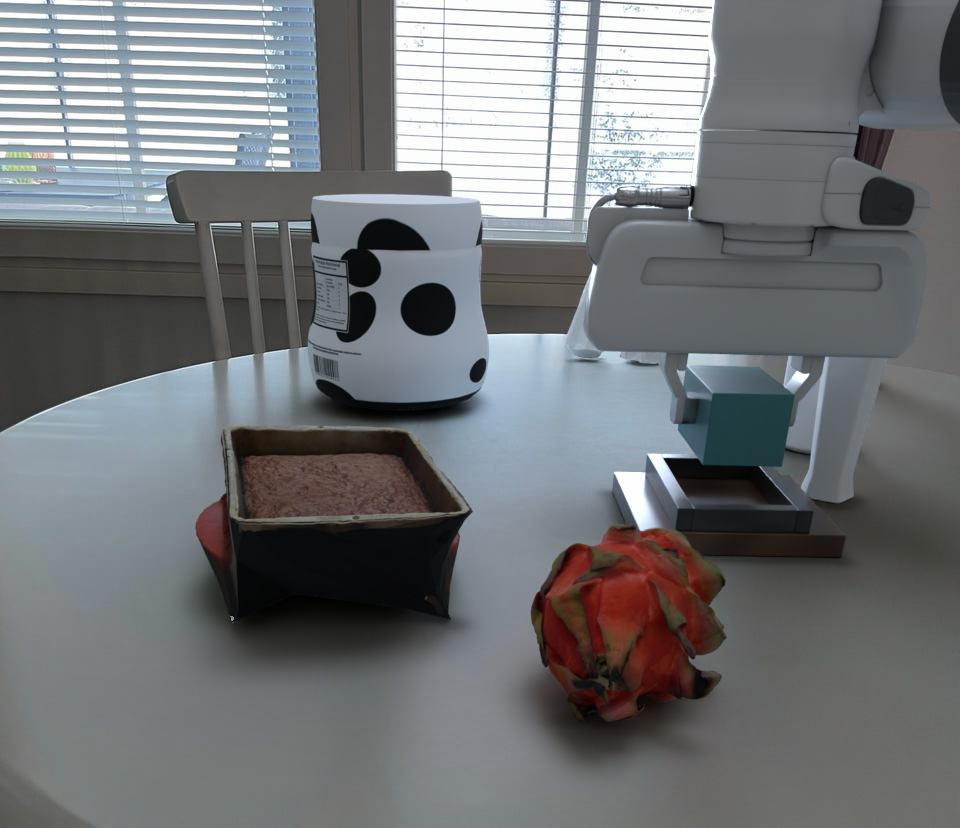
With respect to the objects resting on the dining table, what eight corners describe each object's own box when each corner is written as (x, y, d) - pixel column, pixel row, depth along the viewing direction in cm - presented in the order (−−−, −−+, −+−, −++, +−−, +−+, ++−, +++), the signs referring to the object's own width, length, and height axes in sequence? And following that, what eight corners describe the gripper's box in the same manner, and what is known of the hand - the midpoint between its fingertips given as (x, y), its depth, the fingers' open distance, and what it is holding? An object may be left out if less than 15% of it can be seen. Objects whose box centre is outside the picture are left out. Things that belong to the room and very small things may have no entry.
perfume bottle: (864, 507, 68) (914, 287, 61) (801, 502, 68) (844, 284, 61) (853, 486, 72) (899, 279, 65) (794, 482, 72) (833, 276, 65)
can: (769, 450, 80) (795, 302, 74) (777, 431, 85) (802, 292, 79) (849, 460, 78) (882, 309, 72) (852, 440, 83) (883, 298, 77)
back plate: (785, 494, 70) (792, 455, 68) (841, 557, 59) (851, 512, 58) (612, 491, 70) (615, 451, 68) (637, 554, 59) (642, 509, 58)
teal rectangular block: (748, 432, 66) (759, 366, 63) (782, 467, 58) (795, 394, 56) (677, 430, 65) (685, 364, 63) (702, 465, 58) (712, 392, 56)
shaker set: (562, 362, 110) (568, 261, 105) (564, 355, 114) (570, 257, 108) (665, 367, 109) (677, 265, 103) (664, 360, 112) (675, 261, 107)
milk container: (500, 385, 98) (506, 197, 90) (470, 429, 83) (473, 207, 75) (342, 375, 101) (333, 191, 92) (285, 416, 86) (268, 200, 77)
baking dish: (444, 555, 63) (429, 404, 60) (493, 643, 46) (476, 440, 43) (226, 582, 61) (198, 427, 58) (196, 683, 45) (155, 474, 41)
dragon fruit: (658, 659, 50) (602, 816, 41) (537, 558, 49) (453, 696, 40) (775, 564, 45) (740, 721, 36) (641, 449, 44) (570, 580, 35)
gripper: (596, 186, 52) (577, 433, 58) (962, 197, 52) (903, 440, 59) (584, 182, 57) (568, 407, 64) (914, 191, 58) (865, 414, 64)
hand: (731, 423), depth 61 cm, fingers closed on teal rectangular block, 5 cm apart
